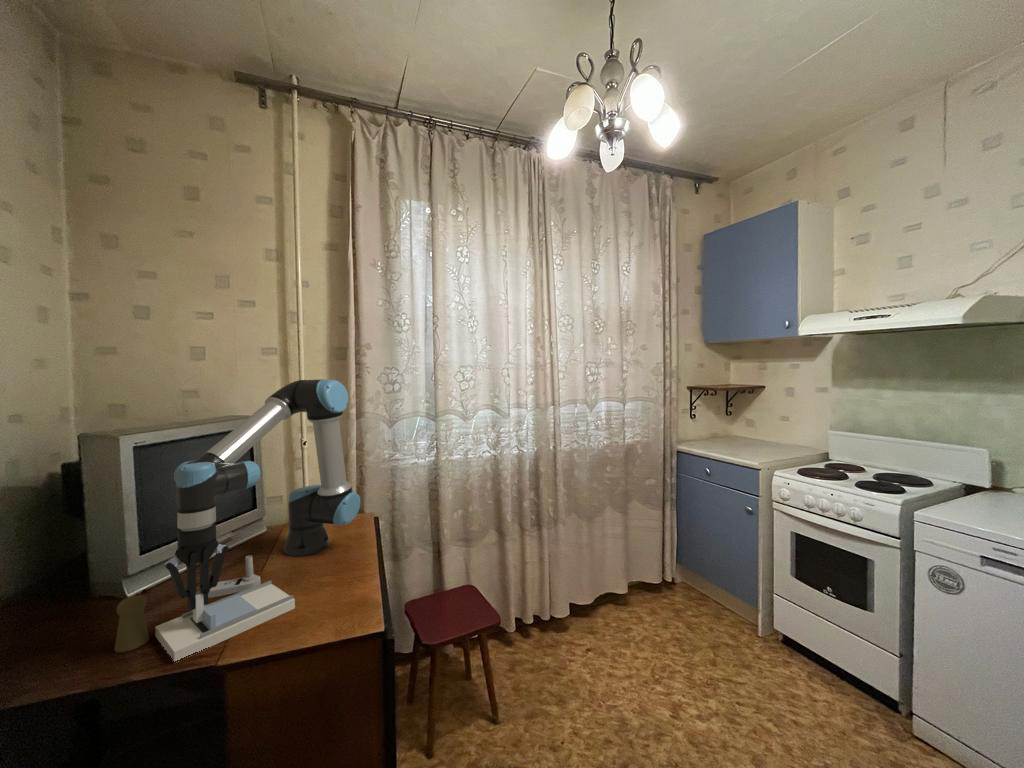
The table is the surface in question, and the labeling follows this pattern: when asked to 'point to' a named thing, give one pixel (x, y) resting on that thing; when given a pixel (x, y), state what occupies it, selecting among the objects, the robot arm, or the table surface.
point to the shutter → (226, 611)
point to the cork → (131, 624)
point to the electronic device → (237, 582)
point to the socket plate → (194, 637)
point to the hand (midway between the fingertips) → (198, 619)
